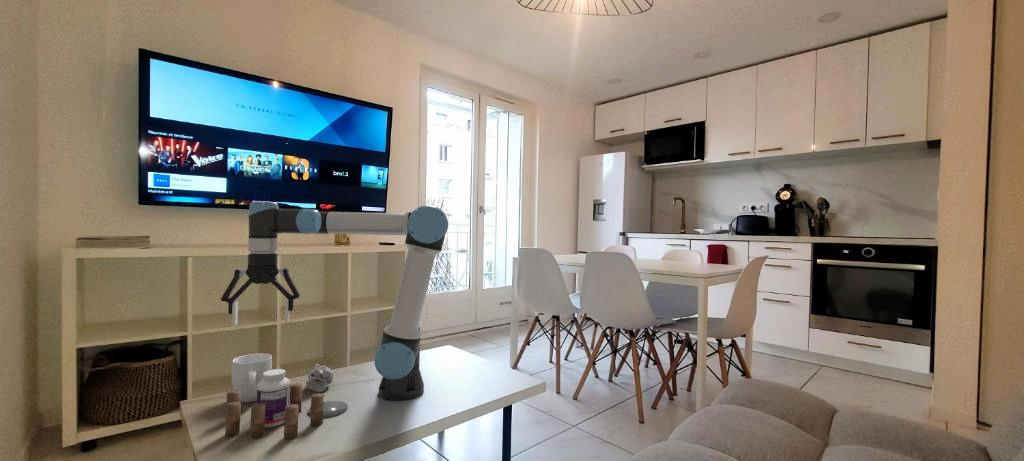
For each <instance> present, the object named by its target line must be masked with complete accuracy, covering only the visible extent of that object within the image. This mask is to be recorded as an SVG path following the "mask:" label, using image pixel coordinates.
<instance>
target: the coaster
mask: <svg viewBox="0 0 1024 461" xmlns="http://www.w3.org/2000/svg"><path fill="white" fill-rule="evenodd" d="M348 406H349V405H348V403H347V402H344V401H341V400H328V401H323V419H326V418H332V417H333V418H334V417H337V416H341V415H342V414H344V413H345V412H347V410H348ZM307 414H308V416H309V417H311V407H309V409H308V410H307Z"/></svg>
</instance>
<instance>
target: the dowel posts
mask: <svg viewBox="0 0 1024 461" xmlns="http://www.w3.org/2000/svg"><path fill="white" fill-rule="evenodd" d="M324 396H325V394H324V393H322V392H317V393H314V394H312V395H311V397H310V408H311V416H310V419H309V420H310V422H309V423H310V424H309V425H310V427H320V426H322V425H323V422H324V418H323V402H325V401H324V399H325V398H324ZM302 397H303V384H302V383H301V382H300V383H299V382H298V383H292V384H290V392H289V405H288V406H286V407H285V420H284V423H283V424H284V426H283V428H284V429H283V440H285V441H292V440H294V439H297V438H298V434H299V432H298V431H299V413H301V412H302V404H303V402H302V400H303V399H302ZM241 403H242V402H240V390H233V389H232V390H229V391H227V392H226V406H225V428H224V429H225V430H224V431H225V432H224V435H225V438H231V437H236V436H238V435H240V432H241V409H242V407H241V405H242V404H241ZM249 429H250V431H249V437H250V439H251V440H256V439H260V438H263V437H264V436H265V431H266V430H265V429H266V428H265V403H258V404H257V403H255V404H252V405H251V406H250V428H249Z"/></svg>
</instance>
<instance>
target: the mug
mask: <svg viewBox="0 0 1024 461" xmlns="http://www.w3.org/2000/svg"><path fill="white" fill-rule="evenodd" d="M231 364H232V365H231V385H232V391H233V390H240V402H241V403H252V402H257V386H258V384H259V383H260V382H261V381H262V380H264V379H263V373H264V372H266V371H269V370H273V367H272V366H273V356H272V354H270V353H250V354H245V355H241V356H237V357H235V358H234V359H233V360H232V361H231Z"/></svg>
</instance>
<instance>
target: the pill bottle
mask: <svg viewBox="0 0 1024 461" xmlns="http://www.w3.org/2000/svg"><path fill="white" fill-rule="evenodd" d="M285 376H286V370H285V369H282V368H276V369H275V368H272V370H269V371H266V372H264V373H263V379H264V380H262V381H261V382H260V383H259V384H258V386H257V401H256V404H258V403H265V429H267V428H275V427H279V426H281V425H283V424H284V420H285V407H286V406H288V405H290V385H291V383H290V382H291V381H290V379H289V378H287V377H285Z"/></svg>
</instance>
